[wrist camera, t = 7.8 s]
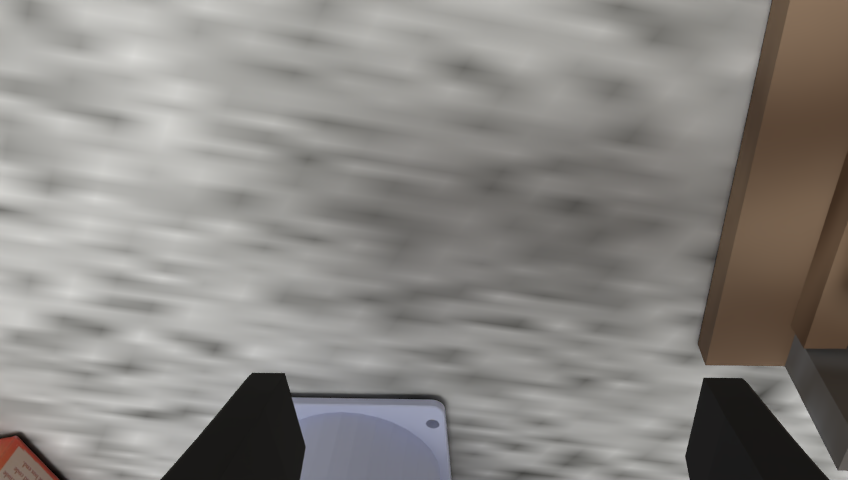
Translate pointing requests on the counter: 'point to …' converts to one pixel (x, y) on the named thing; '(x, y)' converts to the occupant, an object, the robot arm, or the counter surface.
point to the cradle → (791, 220)
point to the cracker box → (21, 462)
